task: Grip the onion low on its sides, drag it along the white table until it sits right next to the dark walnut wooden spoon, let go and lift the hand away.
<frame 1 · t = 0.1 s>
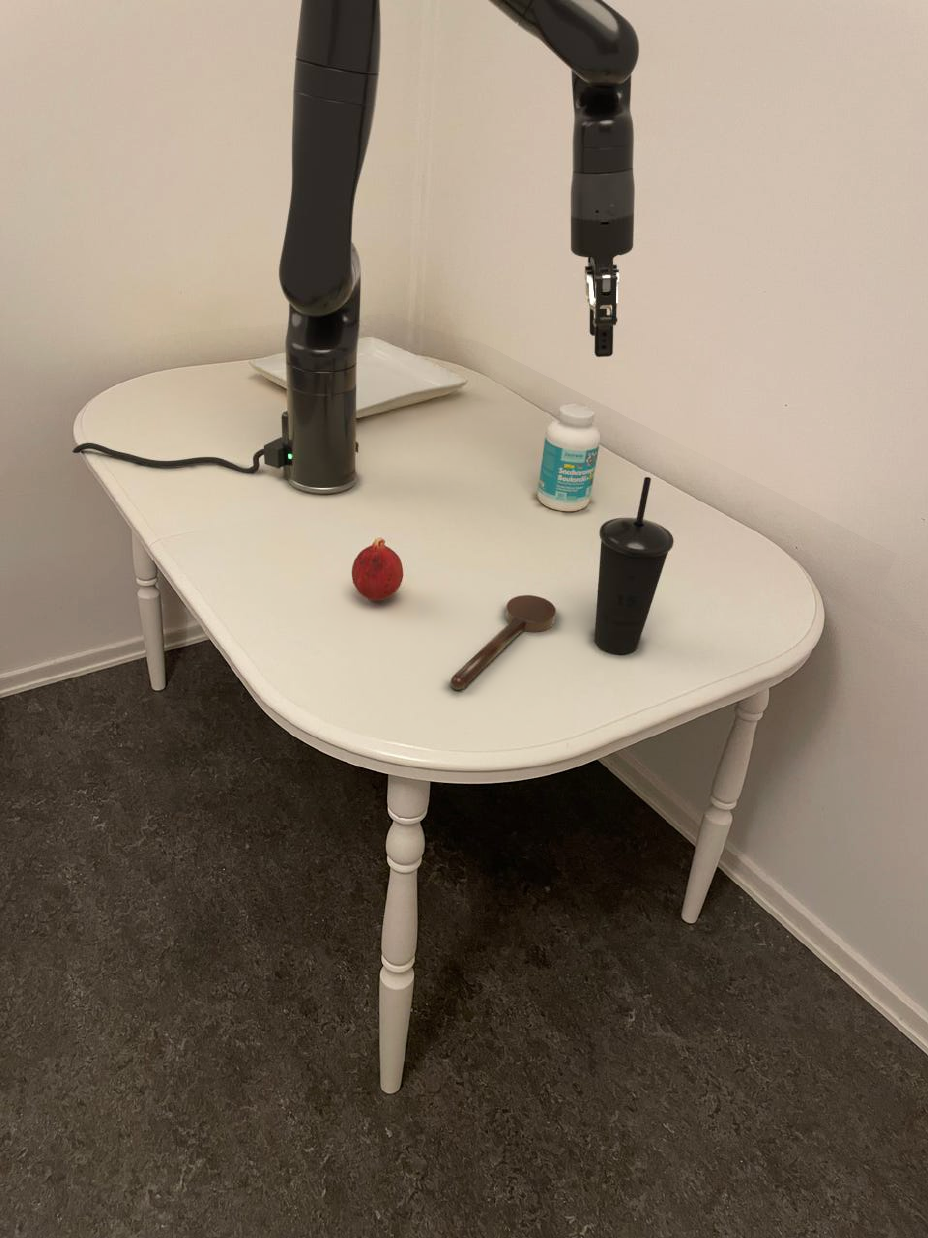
hand: (600, 344, 123), 22 cm above the table, tool pointing down, fingers open, 8 cm apart
spoon: (498, 649, 104), on the table
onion: (376, 602, 110), on the table
drinking cup: (615, 643, 107), on the table
pill bottle: (562, 502, 135), on the table
square plate: (358, 390, 165), on the table
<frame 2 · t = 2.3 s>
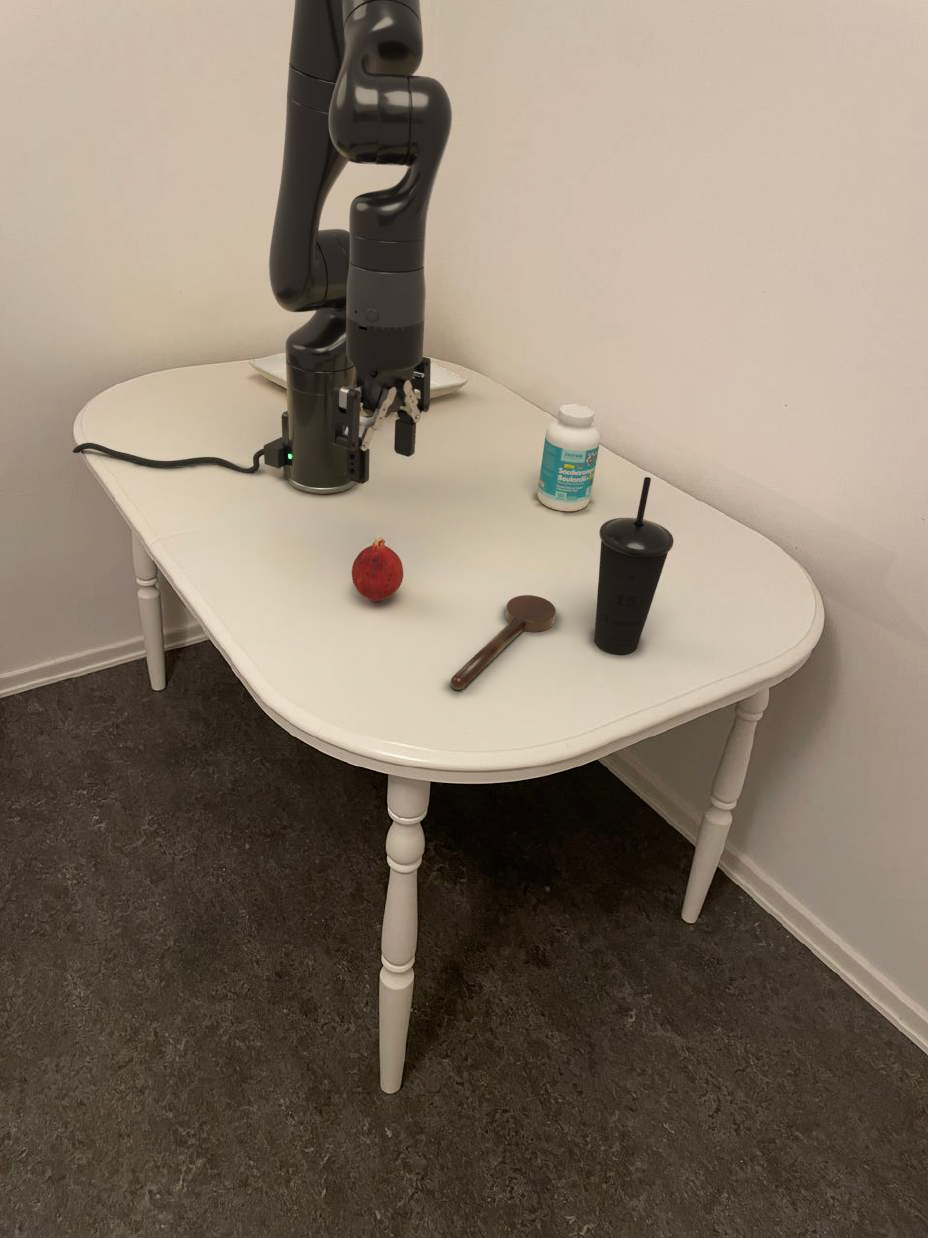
hand: (381, 467, 101), 17 cm above the table, tool pointing down, fingers open, 8 cm apart
nothing on the table moved.
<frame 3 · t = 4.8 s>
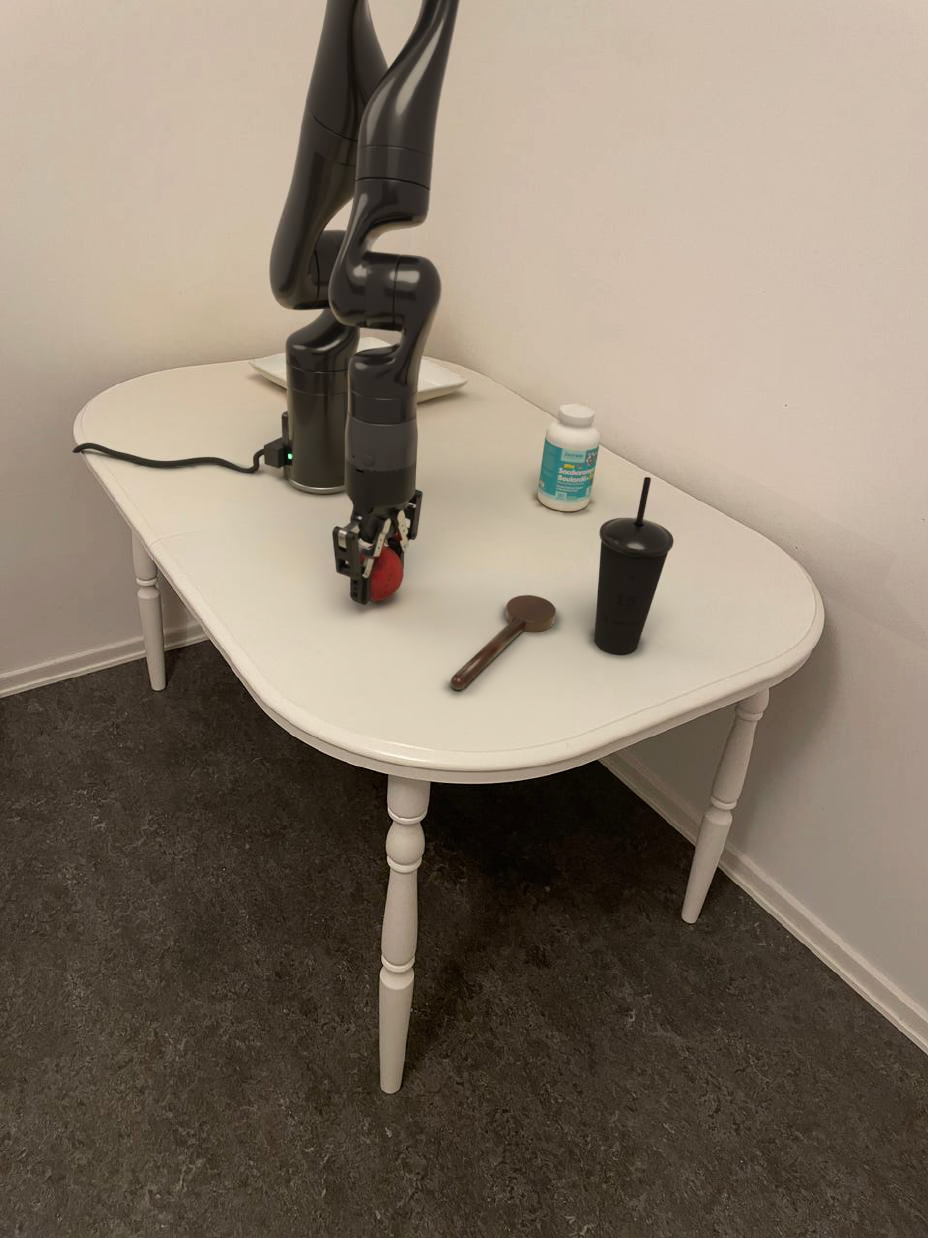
hand: (377, 589, 109), 2 cm above the table, tool pointing down, fingers closed on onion, 6 cm apart
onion: (376, 602, 110), on the table, touching gripper
everything else where it was.
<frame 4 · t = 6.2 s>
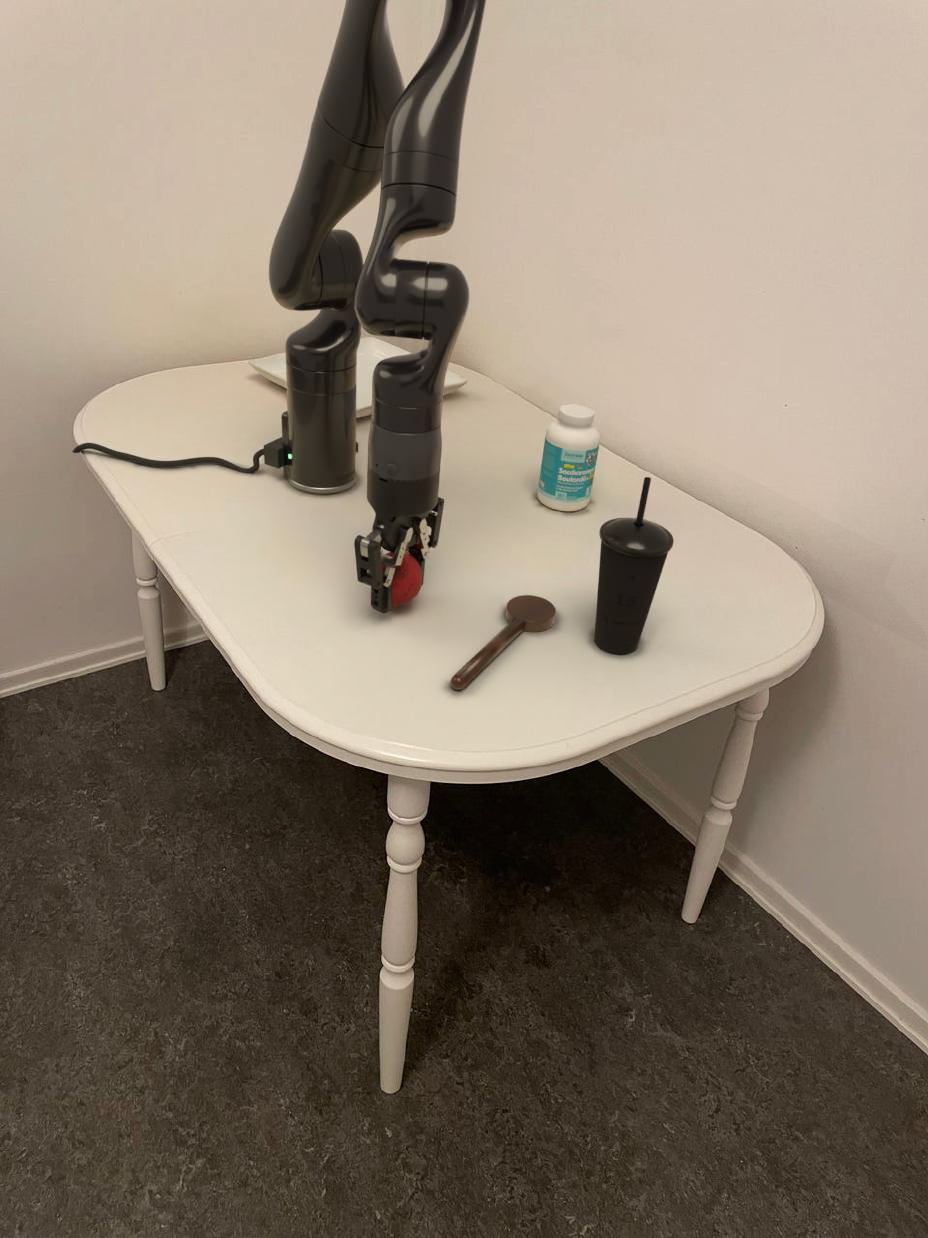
hand: (397, 597, 108), 2 cm above the table, tool pointing down, fingers closed on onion, 6 cm apart
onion: (390, 605, 110), on the table, touching gripper
everything else where it was.
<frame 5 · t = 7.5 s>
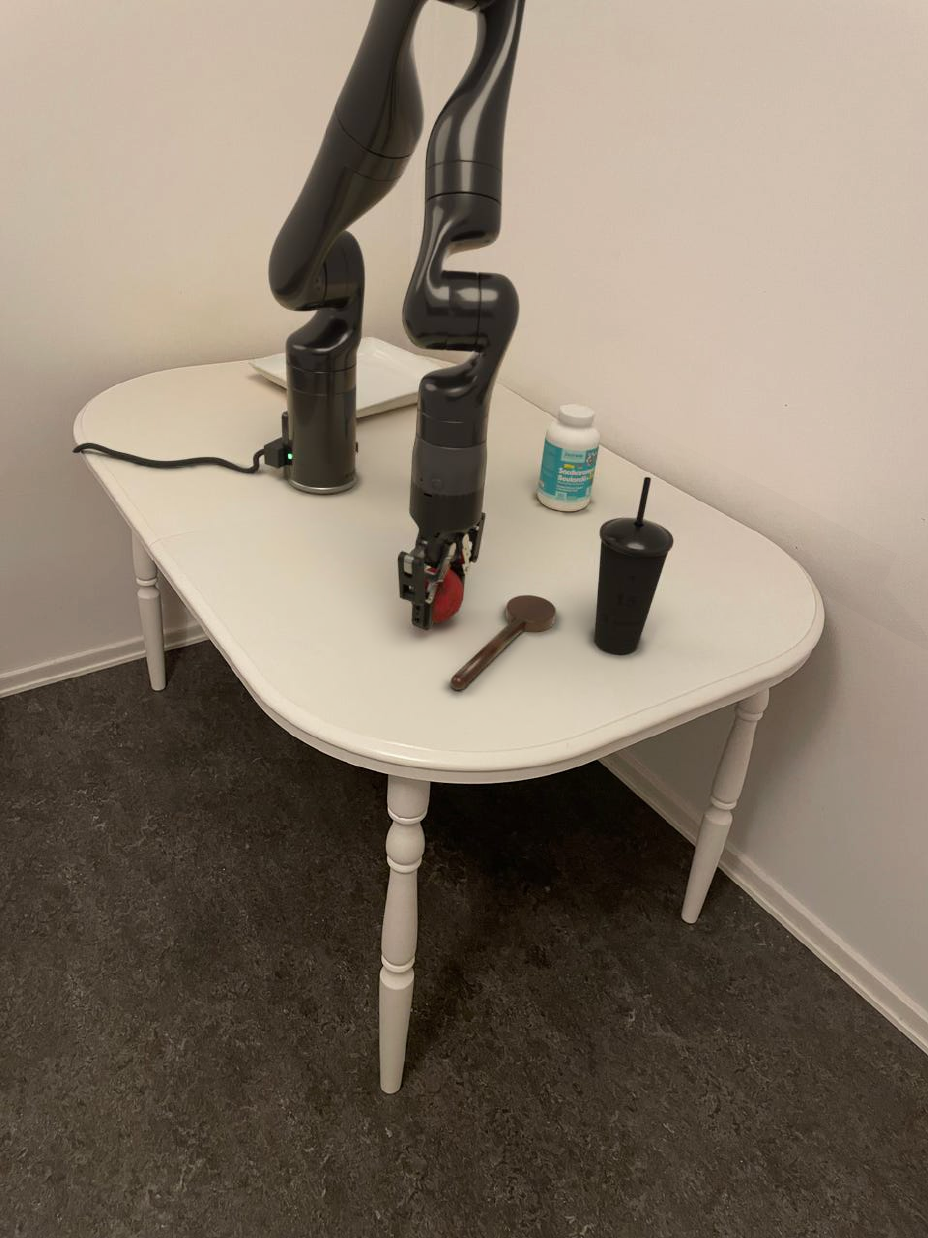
hand: (437, 613, 106), 2 cm above the table, tool pointing down, fingers closed on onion, 6 cm apart
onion: (430, 621, 107), on the table, touching gripper
everything else where it was.
when the fingers open (2 cm above the table, at t = 8.1 s): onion stays where it is, on the table.
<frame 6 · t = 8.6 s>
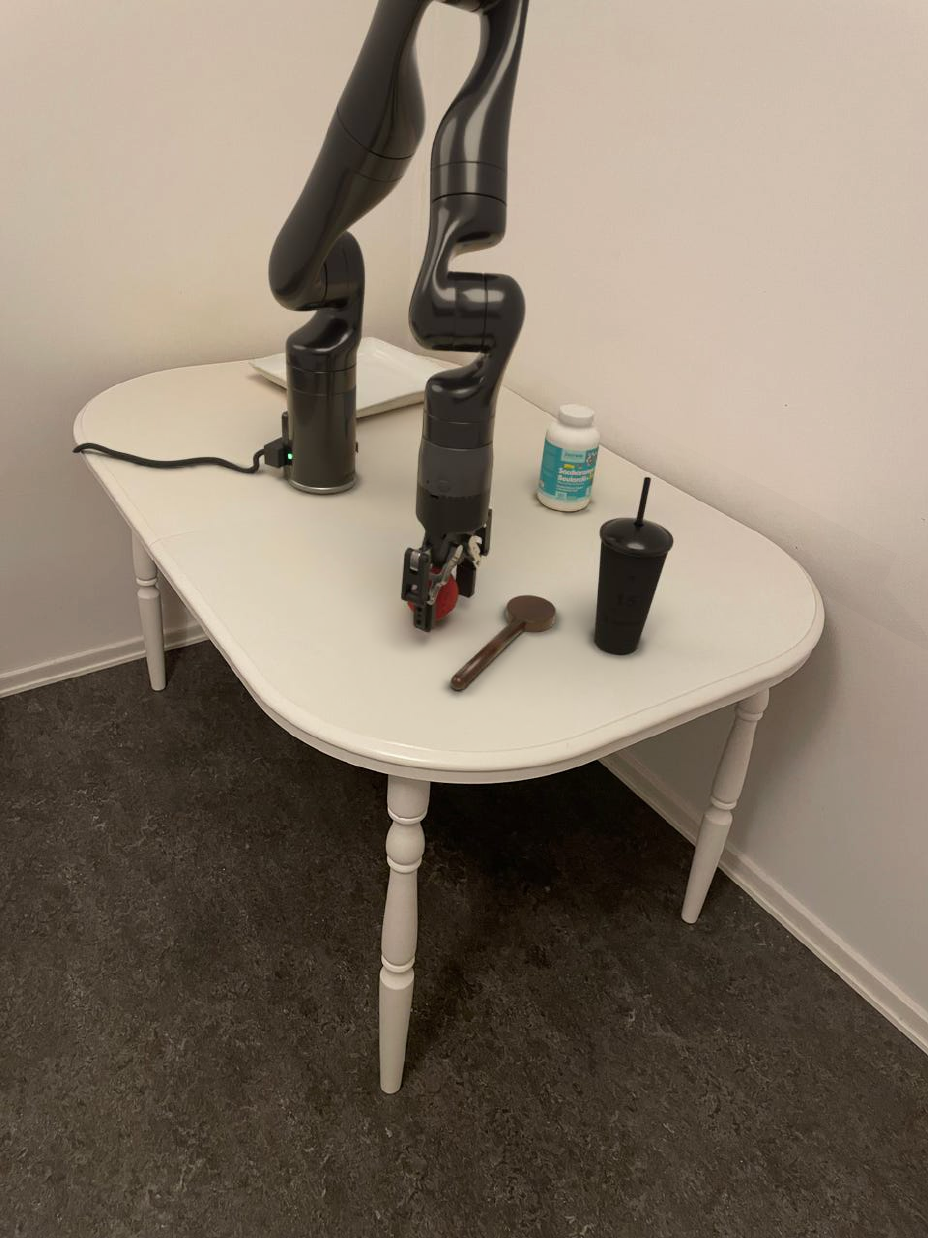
hand: (444, 611, 106), 2 cm above the table, tool pointing down, fingers open, 8 cm apart
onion: (431, 623, 107), on the table
everything else where it was.
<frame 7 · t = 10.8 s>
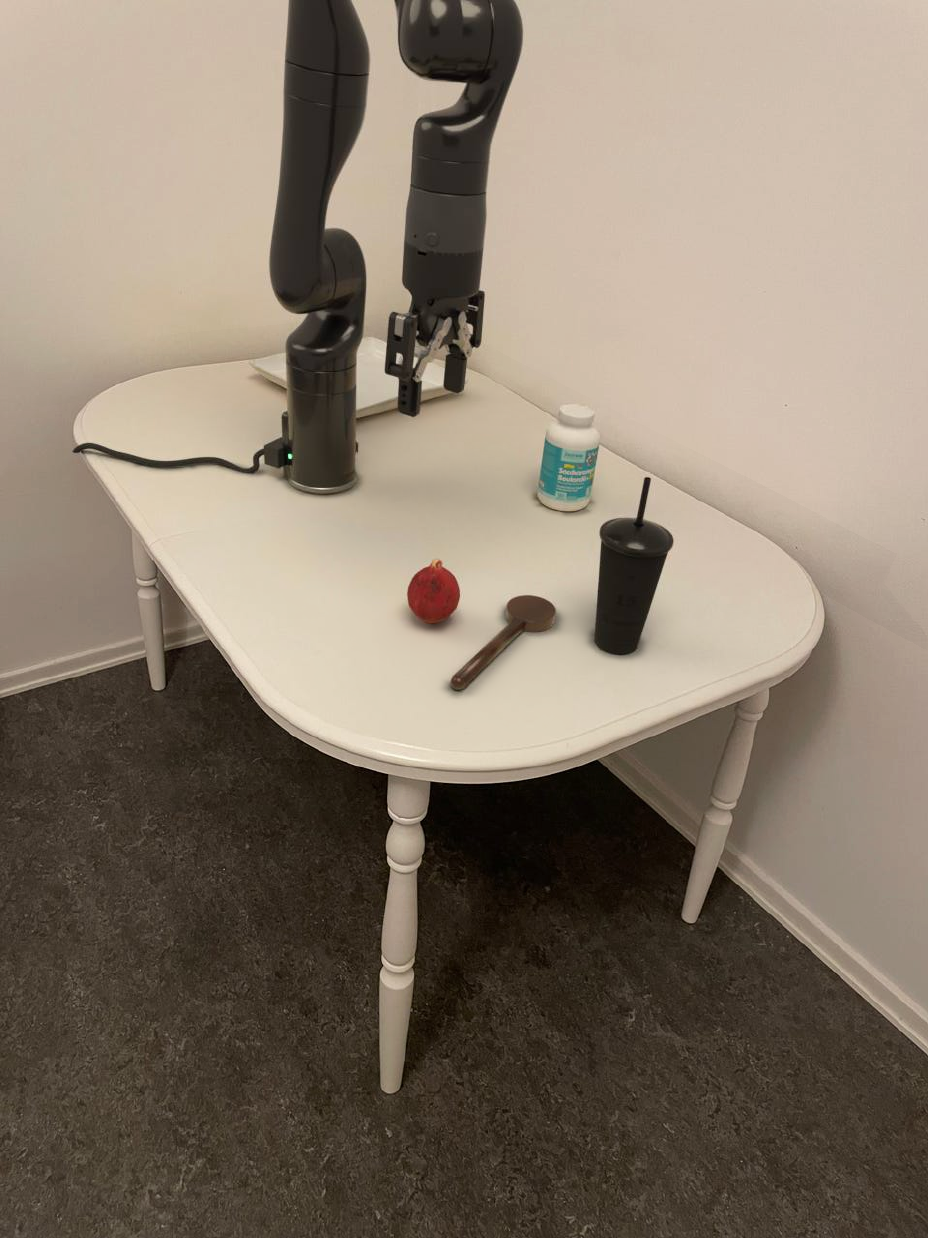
hand: (431, 402, 99), 23 cm above the table, tool pointing down, fingers open, 8 cm apart
nothing on the table moved.
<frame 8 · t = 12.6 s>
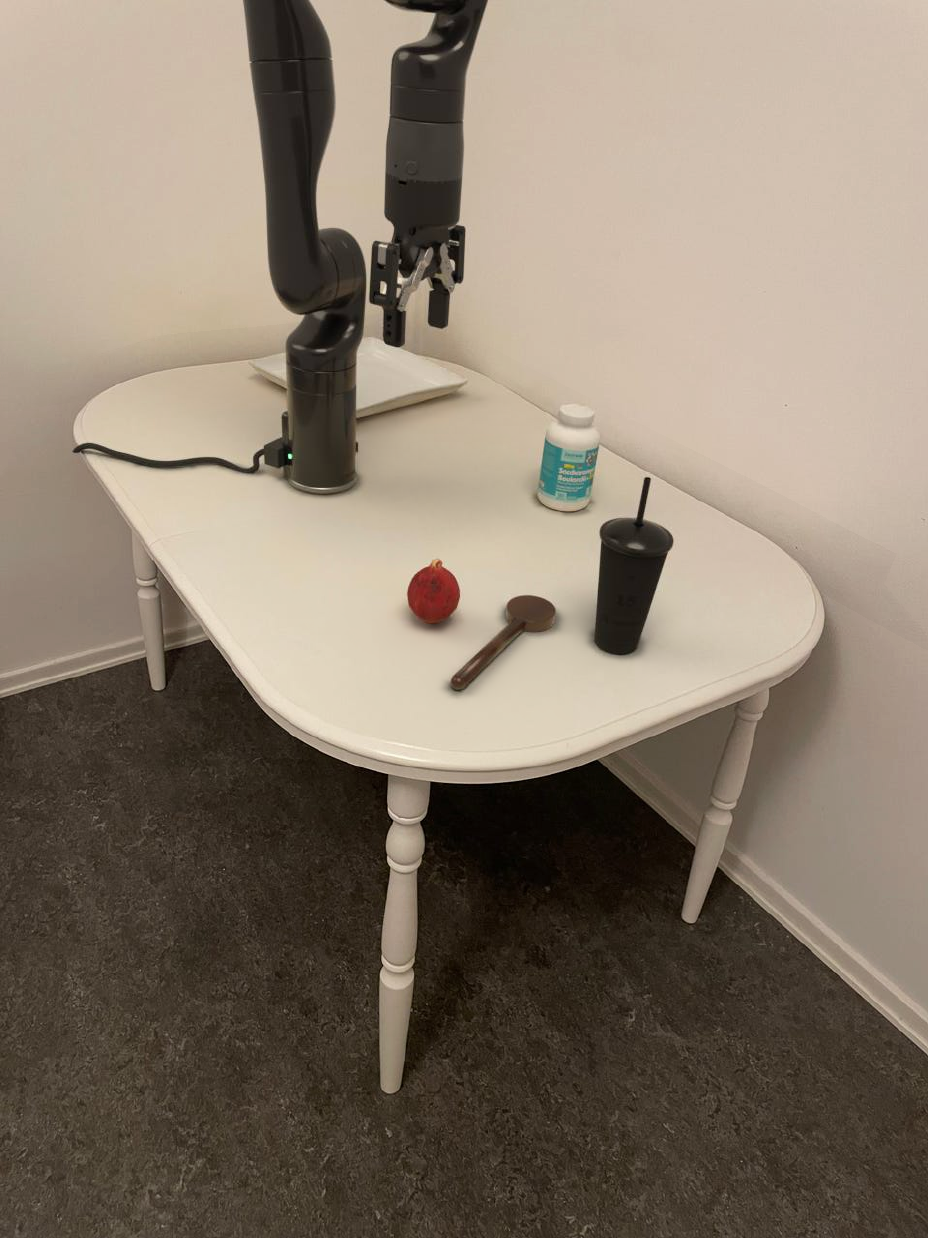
hand: (416, 335, 102), 28 cm above the table, tool pointing down, fingers open, 8 cm apart
nothing on the table moved.
at the end: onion 8.5 cm from the spoon (horizontally); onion moved 7.5 cm from its start; the gripper is holding nothing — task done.
